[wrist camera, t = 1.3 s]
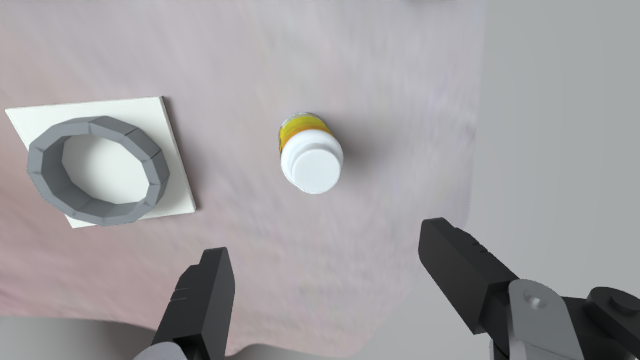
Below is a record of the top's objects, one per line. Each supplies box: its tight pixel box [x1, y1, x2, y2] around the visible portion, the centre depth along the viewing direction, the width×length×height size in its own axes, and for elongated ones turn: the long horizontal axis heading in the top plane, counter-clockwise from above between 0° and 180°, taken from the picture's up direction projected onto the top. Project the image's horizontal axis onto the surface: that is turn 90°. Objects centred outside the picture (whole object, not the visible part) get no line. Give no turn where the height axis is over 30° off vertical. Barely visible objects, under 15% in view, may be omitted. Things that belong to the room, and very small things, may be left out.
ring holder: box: [4, 96, 196, 228], centre depth 27 cm, size 13×13×4 cm
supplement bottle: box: [279, 112, 343, 194], centre depth 26 cm, size 6×6×10 cm
